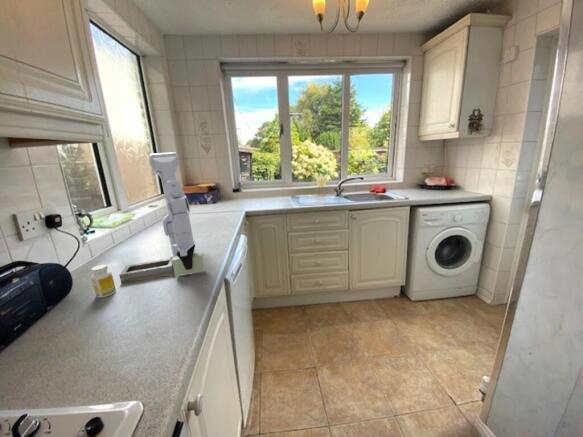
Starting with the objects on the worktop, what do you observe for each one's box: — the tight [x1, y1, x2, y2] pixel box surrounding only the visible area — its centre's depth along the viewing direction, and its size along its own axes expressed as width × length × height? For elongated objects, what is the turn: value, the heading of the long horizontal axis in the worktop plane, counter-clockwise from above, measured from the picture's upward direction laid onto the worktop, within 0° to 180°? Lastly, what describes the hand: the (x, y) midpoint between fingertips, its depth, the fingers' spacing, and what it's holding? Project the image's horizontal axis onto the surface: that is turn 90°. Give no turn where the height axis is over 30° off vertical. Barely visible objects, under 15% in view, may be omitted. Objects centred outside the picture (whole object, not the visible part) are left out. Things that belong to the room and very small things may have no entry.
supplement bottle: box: [90, 264, 117, 299], centre depth 82 cm, size 5×5×10 cm
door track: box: [119, 257, 175, 284], centre depth 95 cm, size 8×17×3 cm, turn 106°
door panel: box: [172, 251, 206, 277], centre depth 92 cm, size 3×10×6 cm, turn 106°
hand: (189, 267), depth 92 cm, fingers closed on door panel, 3 cm apart
